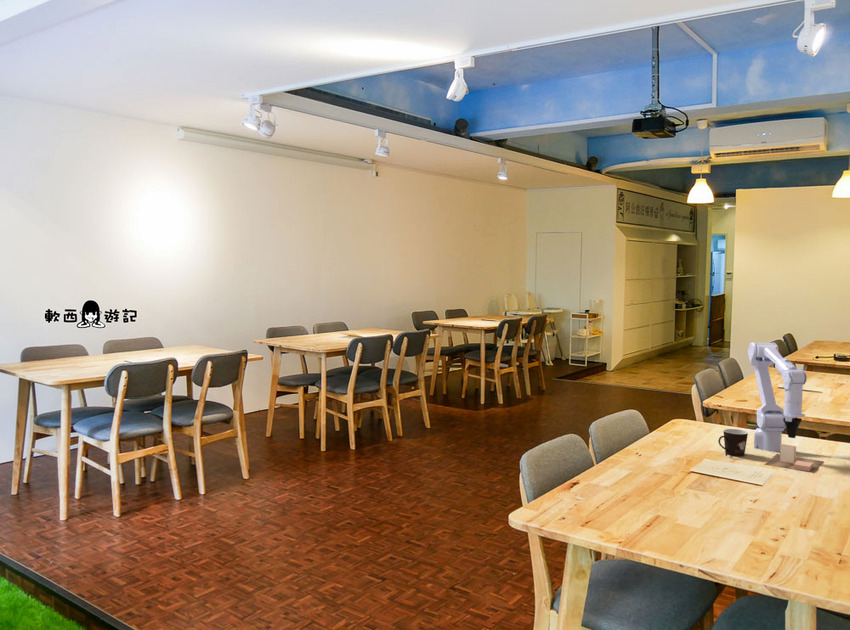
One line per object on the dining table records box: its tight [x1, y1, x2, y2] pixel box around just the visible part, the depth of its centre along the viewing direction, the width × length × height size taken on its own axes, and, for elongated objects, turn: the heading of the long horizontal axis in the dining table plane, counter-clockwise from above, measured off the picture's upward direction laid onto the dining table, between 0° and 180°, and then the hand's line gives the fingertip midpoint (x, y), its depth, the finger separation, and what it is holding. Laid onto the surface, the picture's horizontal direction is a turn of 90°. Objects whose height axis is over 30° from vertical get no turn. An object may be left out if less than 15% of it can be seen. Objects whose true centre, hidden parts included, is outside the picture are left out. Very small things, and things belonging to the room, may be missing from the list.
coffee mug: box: [717, 428, 749, 458], centre depth 261 cm, size 12×9×10 cm
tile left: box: [779, 443, 797, 464], centre depth 249 cm, size 5×2×6 cm, turn 50°
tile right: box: [794, 460, 813, 472], centre depth 243 cm, size 5×2×6 cm
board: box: [763, 453, 825, 474], centre depth 250 cm, size 16×19×1 cm
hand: (791, 437), depth 253 cm, fingers closed
